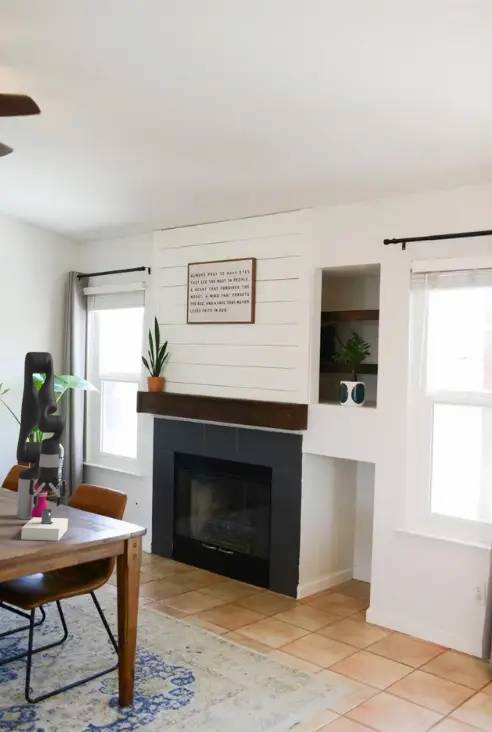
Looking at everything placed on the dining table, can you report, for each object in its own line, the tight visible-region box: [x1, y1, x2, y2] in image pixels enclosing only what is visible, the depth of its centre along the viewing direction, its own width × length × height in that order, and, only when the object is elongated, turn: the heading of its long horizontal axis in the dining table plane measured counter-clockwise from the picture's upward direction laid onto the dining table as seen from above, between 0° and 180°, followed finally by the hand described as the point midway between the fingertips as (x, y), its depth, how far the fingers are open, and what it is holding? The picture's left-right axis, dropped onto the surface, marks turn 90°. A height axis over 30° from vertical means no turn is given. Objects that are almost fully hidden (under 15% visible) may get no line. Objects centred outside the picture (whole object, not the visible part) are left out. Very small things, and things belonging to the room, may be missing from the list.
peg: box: [41, 507, 53, 524], centre depth 285 cm, size 4×4×10 cm
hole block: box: [20, 517, 69, 542], centre depth 285 cm, size 20×14×4 cm
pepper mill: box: [31, 482, 49, 518], centre depth 303 cm, size 7×7×20 cm
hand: (46, 505), depth 286 cm, fingers open, 8 cm apart
